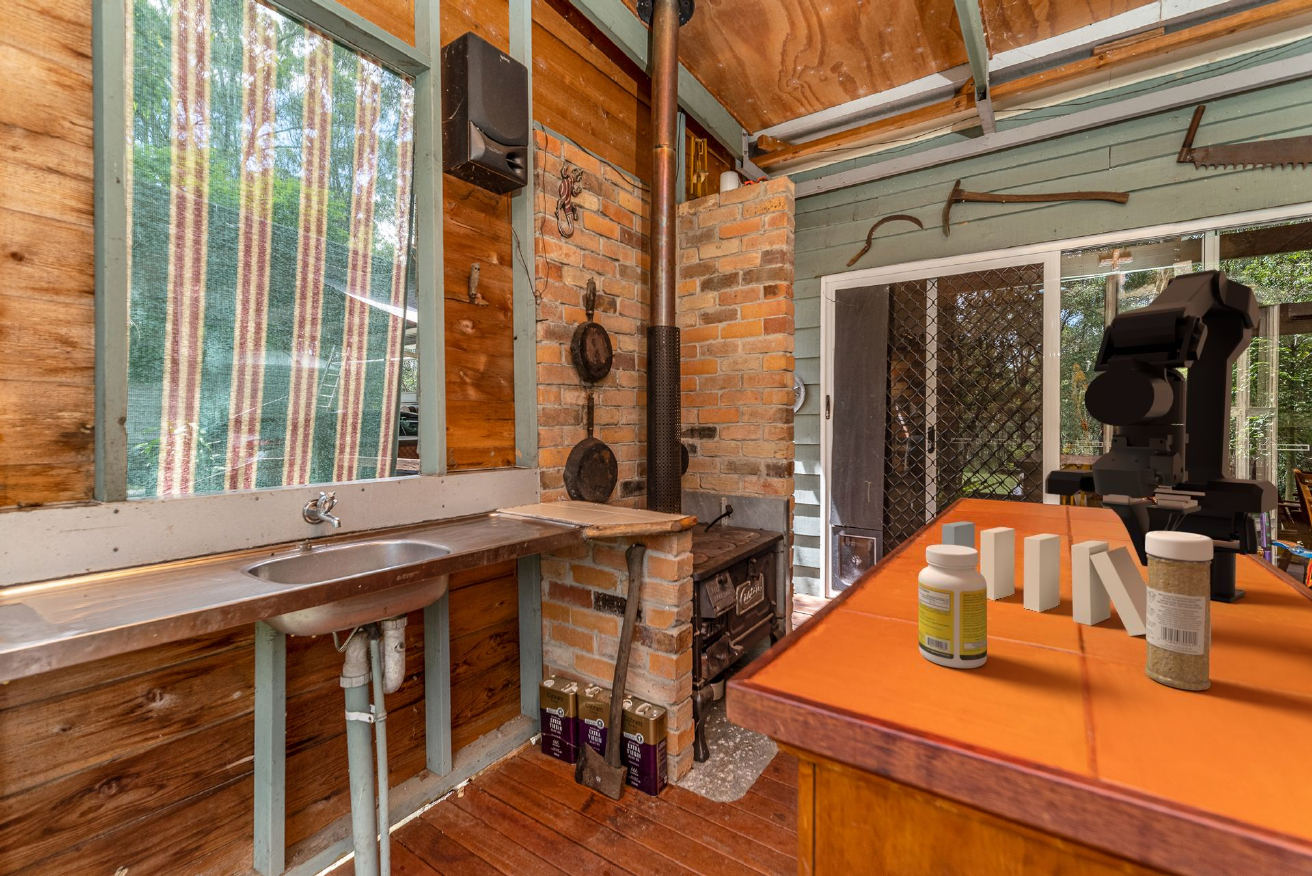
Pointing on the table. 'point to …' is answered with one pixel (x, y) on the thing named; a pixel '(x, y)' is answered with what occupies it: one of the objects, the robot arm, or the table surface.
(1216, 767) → the table surface
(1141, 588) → the domino
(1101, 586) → the domino
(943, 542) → the domino
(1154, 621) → the spice jar
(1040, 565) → the domino
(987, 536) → the domino
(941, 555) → the pill bottle
